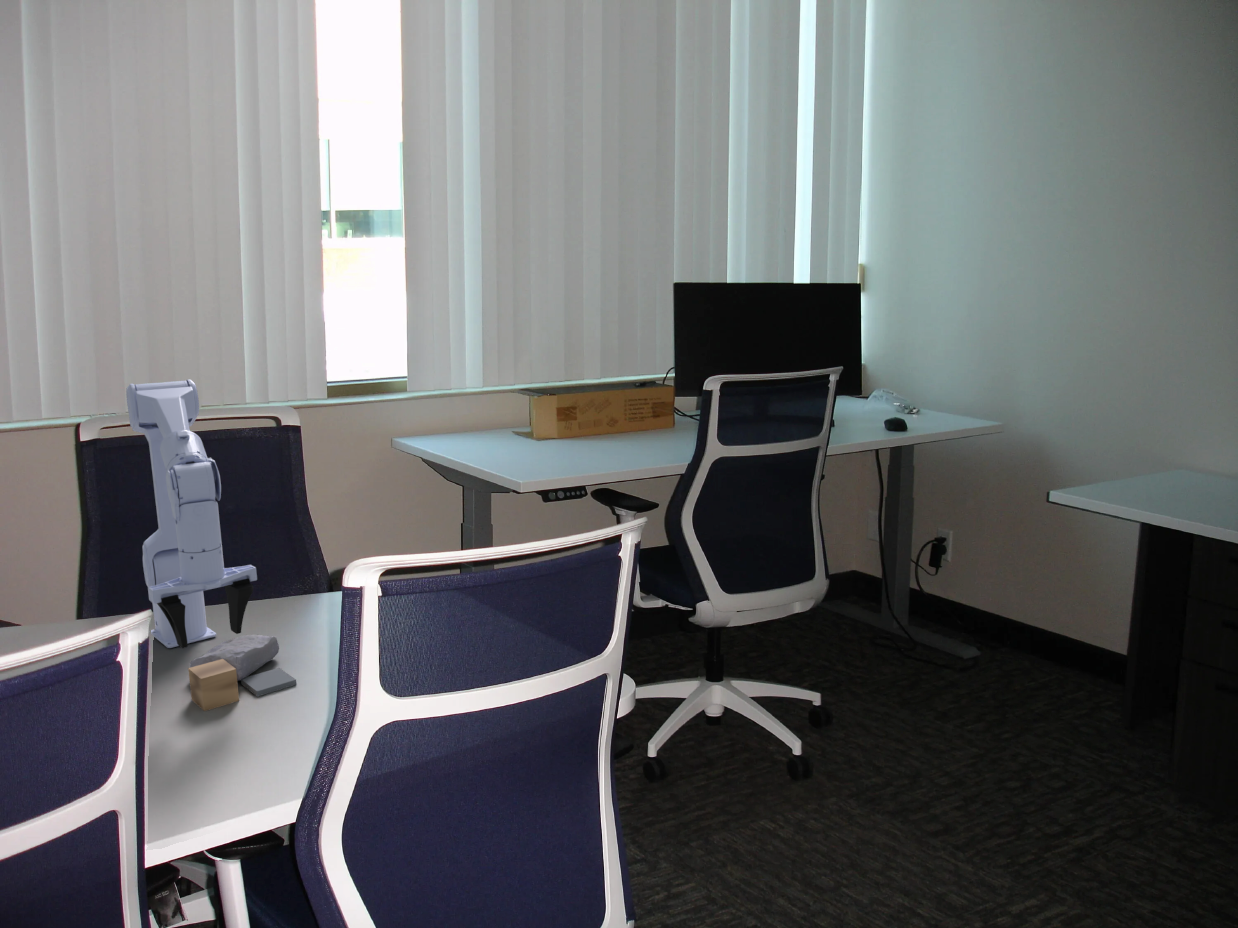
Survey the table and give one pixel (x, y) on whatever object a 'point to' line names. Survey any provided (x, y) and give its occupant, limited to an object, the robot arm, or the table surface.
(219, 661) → the tan cube
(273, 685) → the charcoal pad
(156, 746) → the table surface
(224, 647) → the stone block
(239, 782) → the table surface
